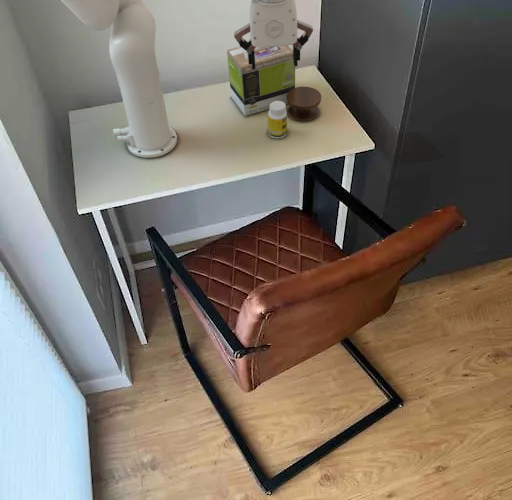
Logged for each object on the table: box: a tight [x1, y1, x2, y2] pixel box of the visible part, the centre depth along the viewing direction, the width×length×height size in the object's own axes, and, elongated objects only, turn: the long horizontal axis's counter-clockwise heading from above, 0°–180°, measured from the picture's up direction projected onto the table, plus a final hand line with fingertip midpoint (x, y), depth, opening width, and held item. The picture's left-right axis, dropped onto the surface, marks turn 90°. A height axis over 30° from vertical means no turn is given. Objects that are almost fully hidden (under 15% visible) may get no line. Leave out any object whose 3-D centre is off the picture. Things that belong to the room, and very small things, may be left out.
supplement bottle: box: [267, 101, 288, 139], centre depth 144 cm, size 5×5×8 cm
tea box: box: [226, 45, 296, 117], centre depth 151 cm, size 15×10×15 cm
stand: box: [286, 85, 322, 123], centre depth 151 cm, size 9×9×5 cm
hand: (274, 64), depth 132 cm, fingers open, 9 cm apart
